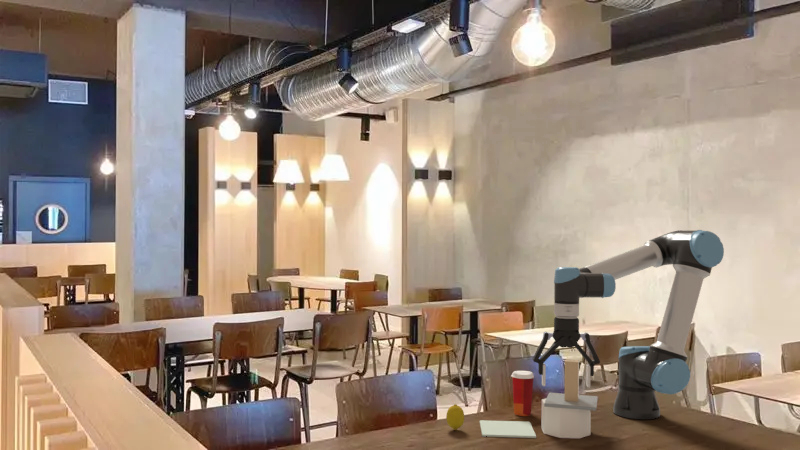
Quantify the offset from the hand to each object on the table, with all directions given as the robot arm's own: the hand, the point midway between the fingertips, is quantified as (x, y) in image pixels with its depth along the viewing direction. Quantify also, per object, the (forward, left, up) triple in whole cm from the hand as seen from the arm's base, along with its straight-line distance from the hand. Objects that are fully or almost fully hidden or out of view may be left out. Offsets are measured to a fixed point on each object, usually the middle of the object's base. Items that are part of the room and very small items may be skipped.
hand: (565, 386), depth 215 cm
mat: (+18, 0, -14) cm, 23 cm away
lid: (-2, +1, -5) cm, 5 cm away
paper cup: (+11, -20, -14) cm, 27 cm away
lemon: (+34, +2, -14) cm, 37 cm away
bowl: (0, 0, -14) cm, 14 cm away
